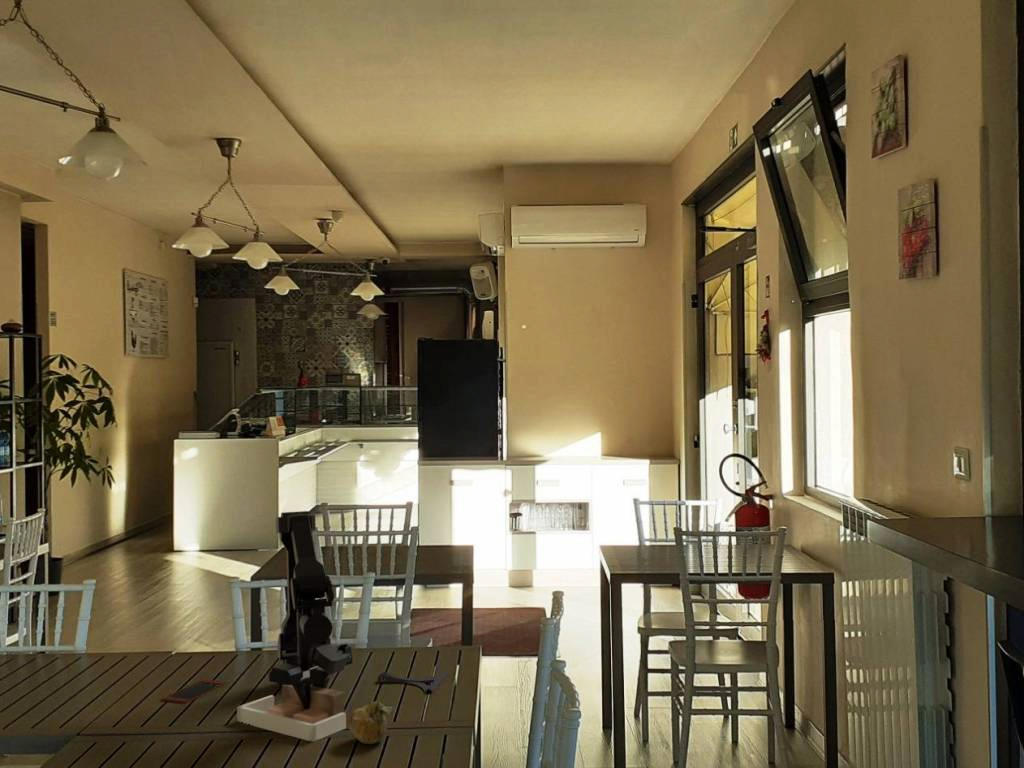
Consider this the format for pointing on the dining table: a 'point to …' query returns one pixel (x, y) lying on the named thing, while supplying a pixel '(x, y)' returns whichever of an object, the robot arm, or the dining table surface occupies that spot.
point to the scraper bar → (317, 699)
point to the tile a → (285, 709)
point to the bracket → (416, 680)
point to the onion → (369, 722)
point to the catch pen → (288, 721)
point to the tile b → (311, 715)
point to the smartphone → (193, 691)
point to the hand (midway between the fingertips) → (312, 706)
